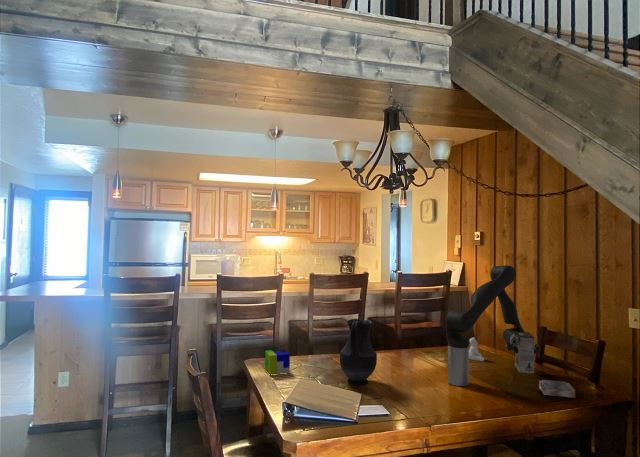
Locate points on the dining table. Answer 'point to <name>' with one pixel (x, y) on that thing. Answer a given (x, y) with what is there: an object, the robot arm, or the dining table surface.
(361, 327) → the pitcher
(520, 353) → the coffee box
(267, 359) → the puzzle toy
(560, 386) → the plinth
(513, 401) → the dining table surface
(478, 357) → the seated beast figurine
